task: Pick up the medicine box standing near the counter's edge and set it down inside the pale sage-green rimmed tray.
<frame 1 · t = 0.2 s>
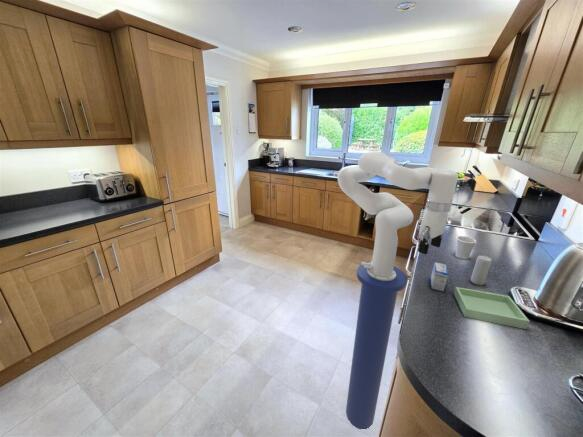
hand: (428, 249, 91), 19 cm above the worktop, tool pointing down, fingers open, 9 cm apart
medicine box: (436, 285, 102), on the worktop
dixie cup: (461, 256, 126), on the worktop
tray: (486, 309, 88), on the worktop
beverage can: (476, 283, 104), on the worktop
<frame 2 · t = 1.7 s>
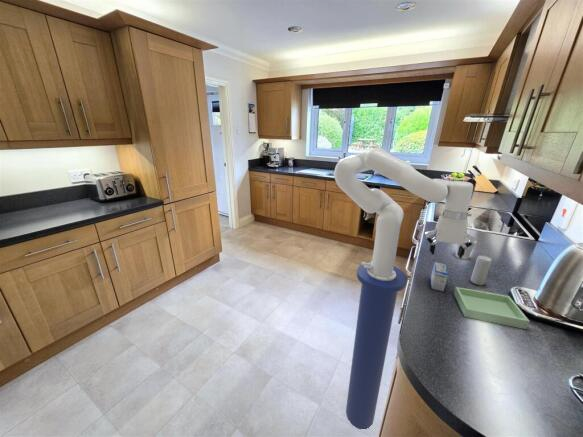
hand: (445, 254, 97), 15 cm above the worktop, tool pointing down, fingers open, 9 cm apart
nothing on the worktop moved.
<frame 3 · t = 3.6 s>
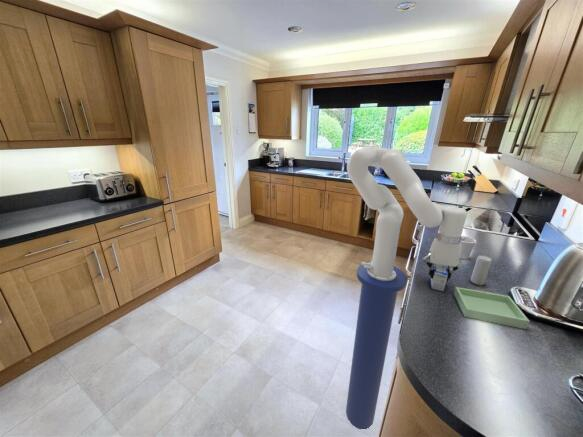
hand: (438, 277, 101), 4 cm above the worktop, tool pointing down, fingers closed on medicine box, 4 cm apart
medicine box: (436, 285, 102), on the worktop, touching gripper
everything else where it was.
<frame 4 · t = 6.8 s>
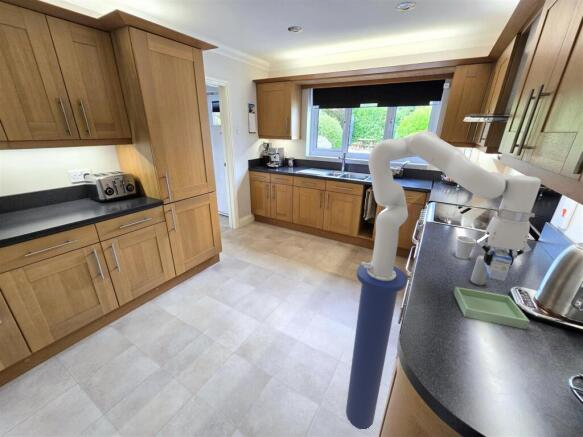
hand: (496, 264, 83), 18 cm above the worktop, tool pointing down, fingers closed on medicine box, 4 cm apart
medicine box: (493, 274, 85), point 14 cm above the worktop, touching gripper
everything else where it was.
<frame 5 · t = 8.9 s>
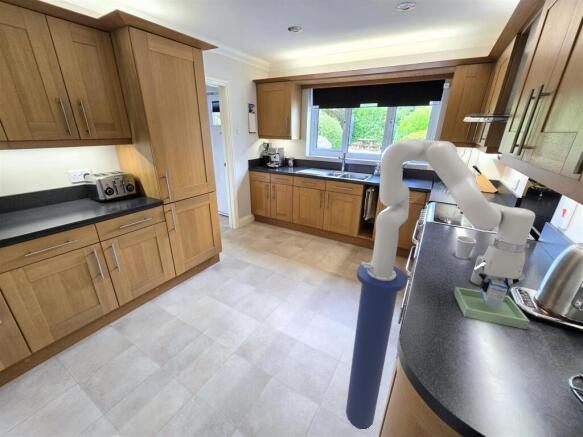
hand: (492, 291, 86), 8 cm above the worktop, tool pointing down, fingers closed on medicine box, 4 cm apart
medicine box: (489, 300, 87), point 4 cm above the worktop, touching gripper
everything else where it was.
when the fingers open (5 cm above the worktop, at t = 10.2 s): medicine box stays where it is, resting on tray.
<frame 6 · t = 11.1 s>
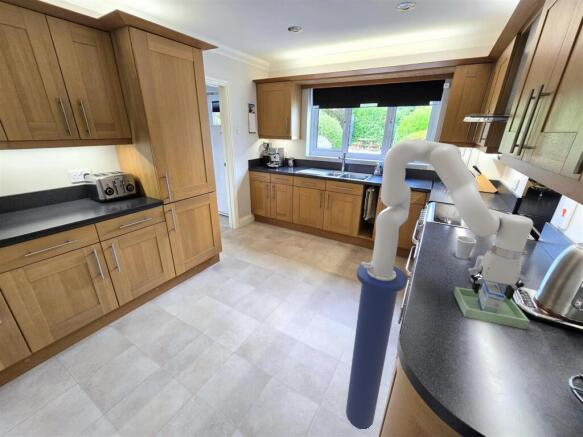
hand: (490, 294, 86), 7 cm above the worktop, tool pointing down, fingers open, 9 cm apart
medicine box: (486, 308, 88), point 1 cm above the worktop, touching tray
everything else where it was.
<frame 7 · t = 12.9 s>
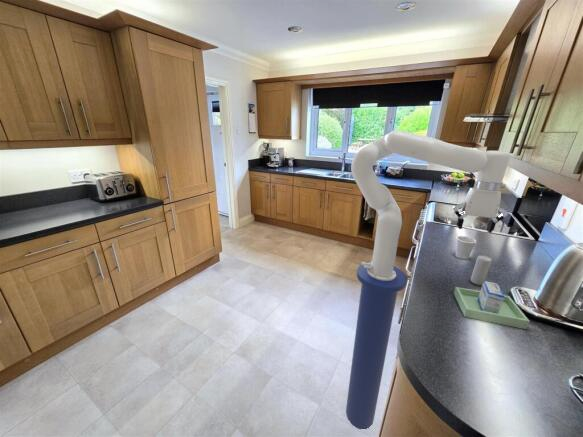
hand: (473, 229, 93), 26 cm above the worktop, tool pointing down, fingers open, 9 cm apart
nothing on the worktop moved.
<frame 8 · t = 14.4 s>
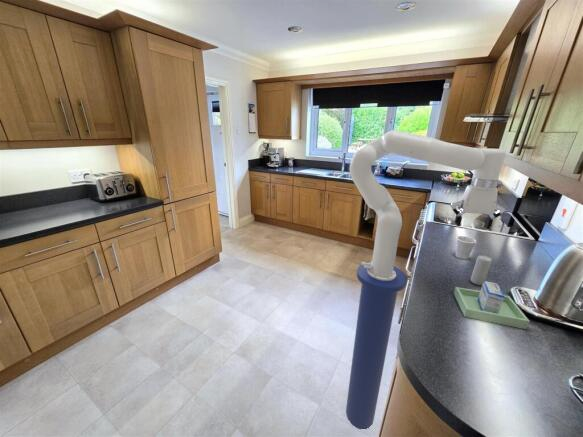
hand: (471, 226, 95), 26 cm above the worktop, tool pointing down, fingers open, 9 cm apart
nothing on the worktop moved.
at the end: medicine box inside the target area in the tray (0.0 cm from its centre), point 0.6 cm above the tray's base; the gripper is holding nothing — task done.
